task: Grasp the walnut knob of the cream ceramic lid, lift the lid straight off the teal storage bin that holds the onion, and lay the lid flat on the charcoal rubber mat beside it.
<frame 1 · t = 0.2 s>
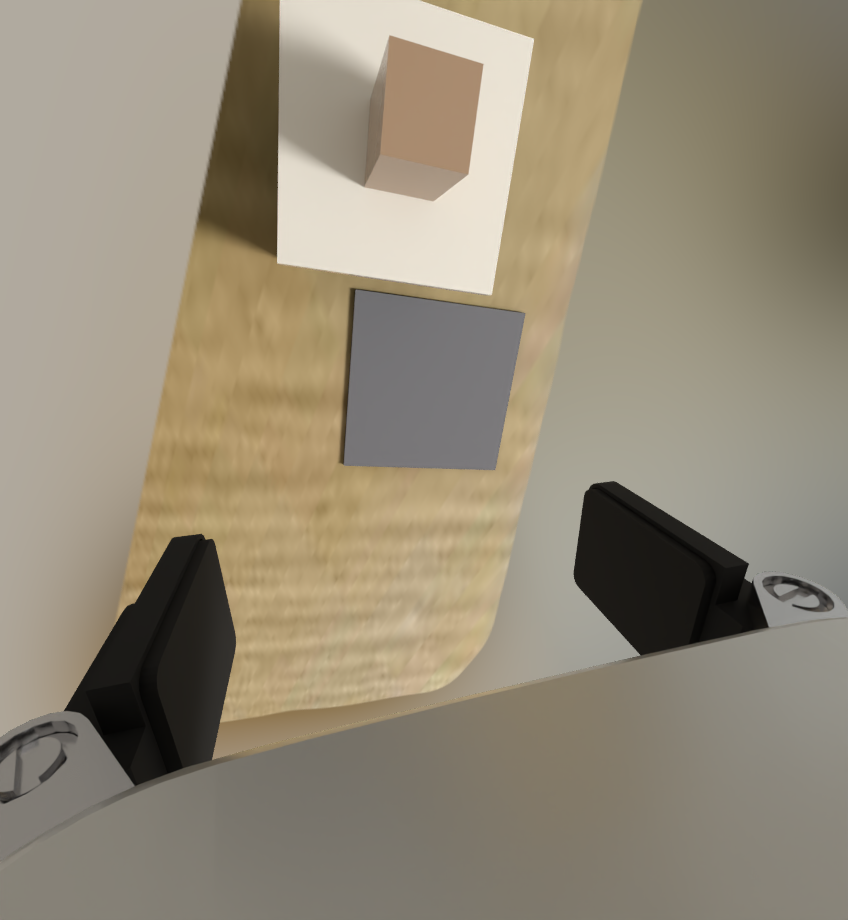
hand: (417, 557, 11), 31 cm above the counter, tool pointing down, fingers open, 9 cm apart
lid: (399, 159, 24), point 11 cm above the counter, touching teal storage bin
mat: (432, 389, 41), on the counter
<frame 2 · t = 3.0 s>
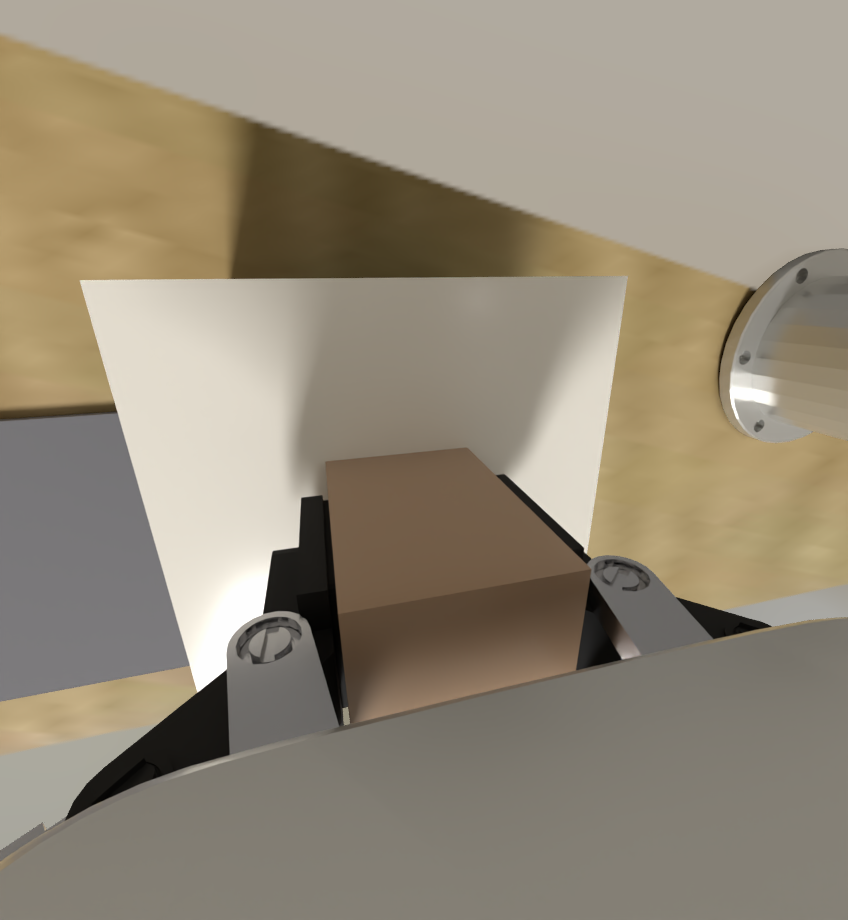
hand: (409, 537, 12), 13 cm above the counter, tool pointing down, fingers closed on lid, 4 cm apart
lid: (394, 499, 14), point 11 cm above the counter, touching teal storage bin, gripper
mat: (87, 561, 23), on the counter
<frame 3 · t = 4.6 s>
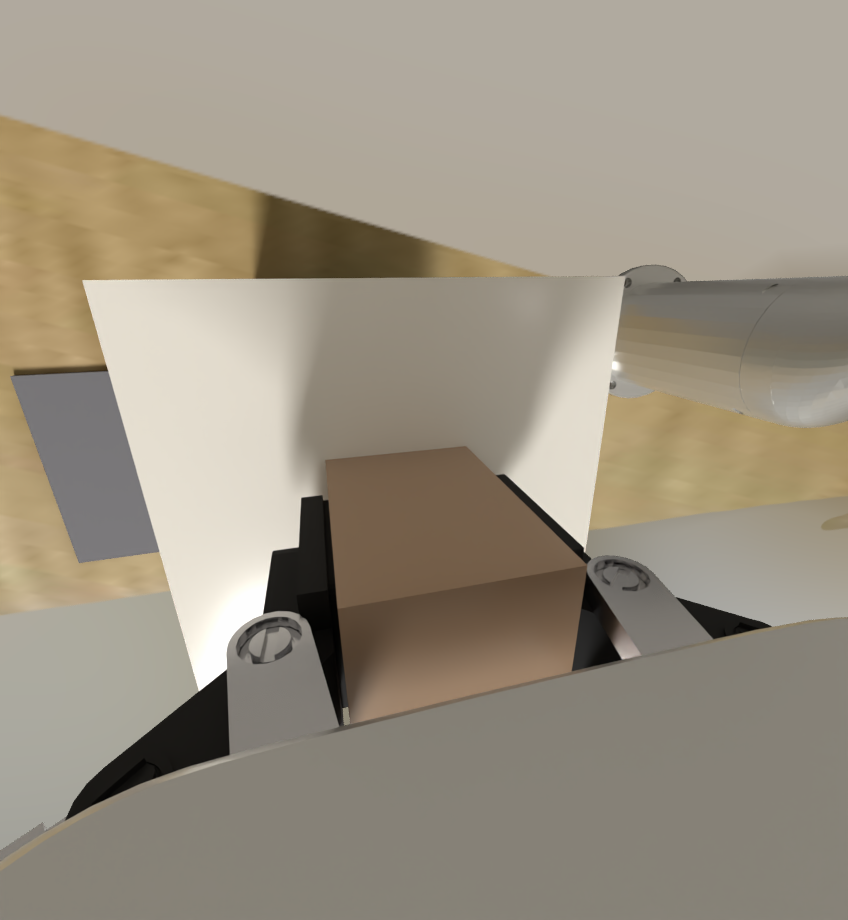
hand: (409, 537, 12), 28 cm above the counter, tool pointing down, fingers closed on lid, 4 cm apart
lid: (393, 498, 14), point 26 cm above the counter, touching gripper
mat: (161, 465, 36), on the counter
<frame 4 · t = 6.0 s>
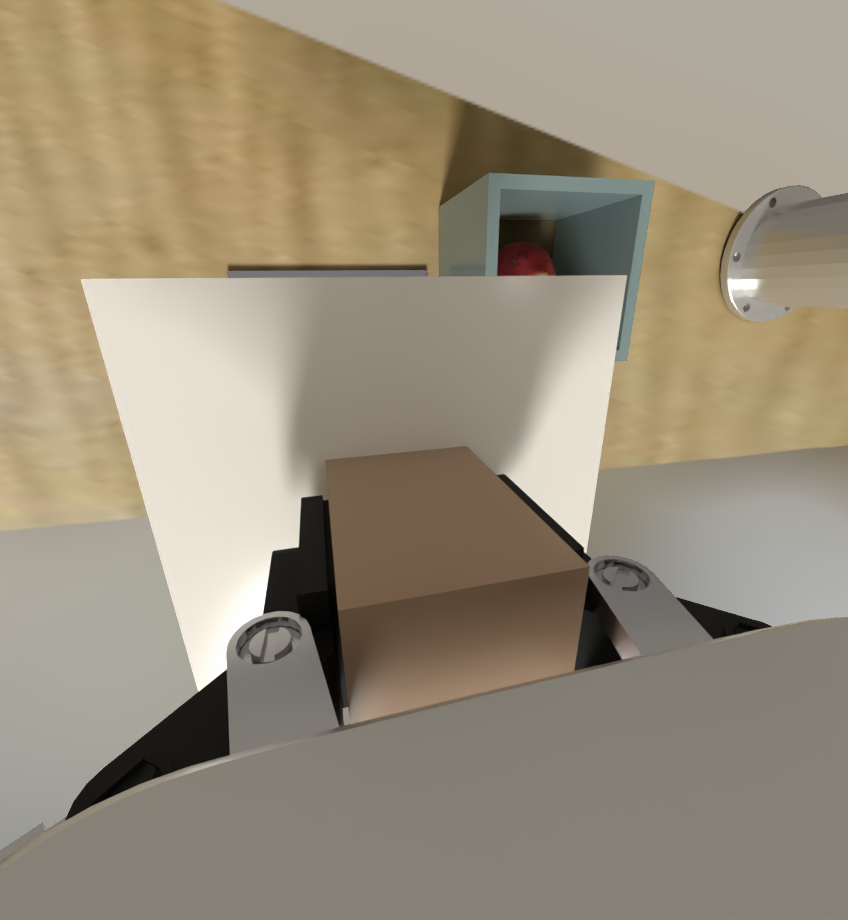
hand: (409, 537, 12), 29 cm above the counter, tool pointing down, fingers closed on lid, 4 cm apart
lid: (393, 498, 14), point 27 cm above the counter, touching gripper
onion: (499, 282, 39), resting in teal storage bin
teal storage bin: (500, 281, 39), on the counter
mat: (340, 368, 38), on the counter
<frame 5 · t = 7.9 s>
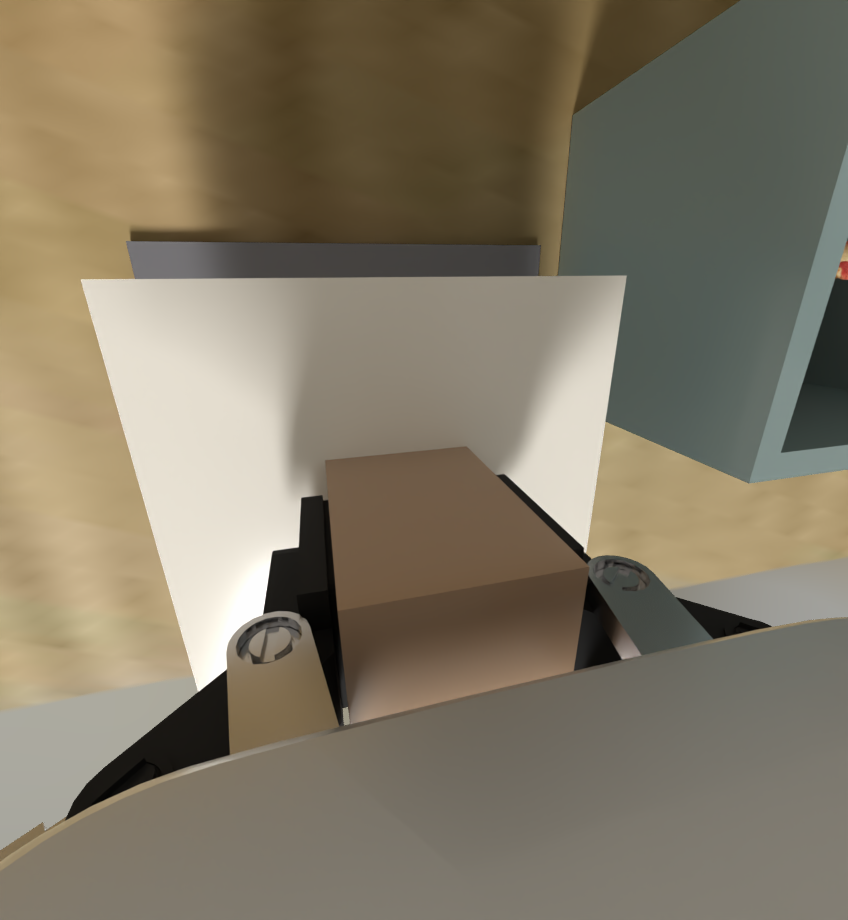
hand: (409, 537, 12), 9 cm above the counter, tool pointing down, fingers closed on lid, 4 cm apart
lid: (393, 498, 14), point 7 cm above the counter, touching gripper
teal storage bin: (666, 270, 21), on the counter
mat: (366, 434, 20), on the counter
when the fingers open (5 cm above the counter, at t = 9.3 s): lid stays where it is, resting on mat.
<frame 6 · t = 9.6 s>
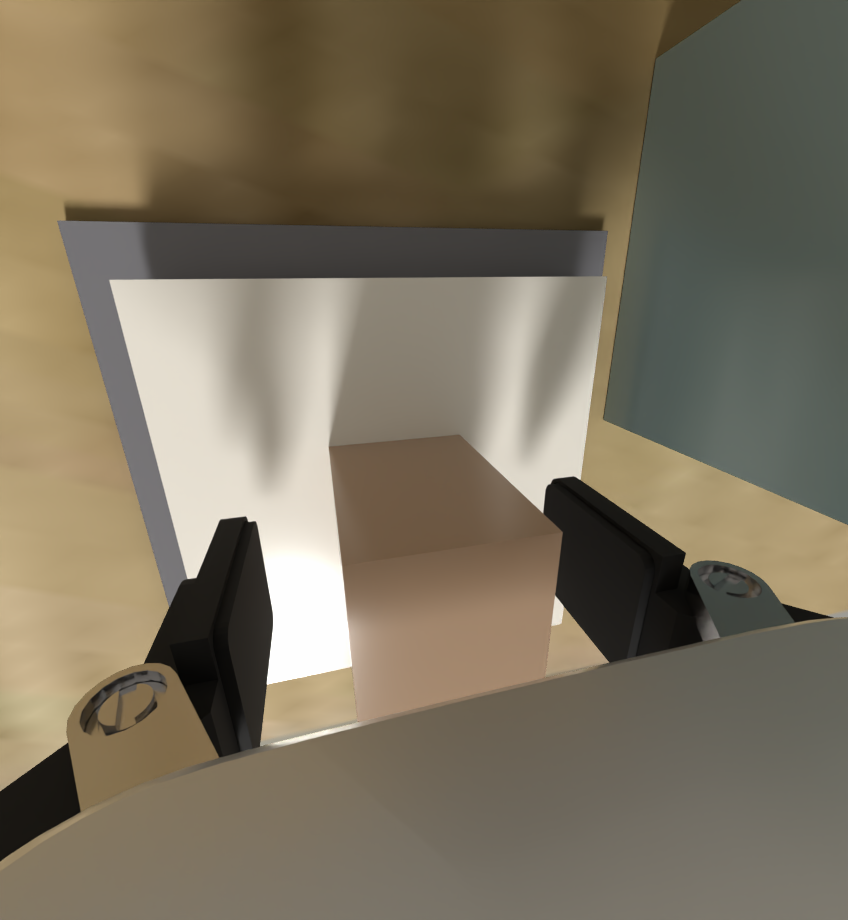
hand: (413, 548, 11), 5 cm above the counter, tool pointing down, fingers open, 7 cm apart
lid: (392, 484, 15), point 1 cm above the counter, touching mat
teal storage bin: (755, 264, 17), on the counter
mat: (382, 470, 16), on the counter
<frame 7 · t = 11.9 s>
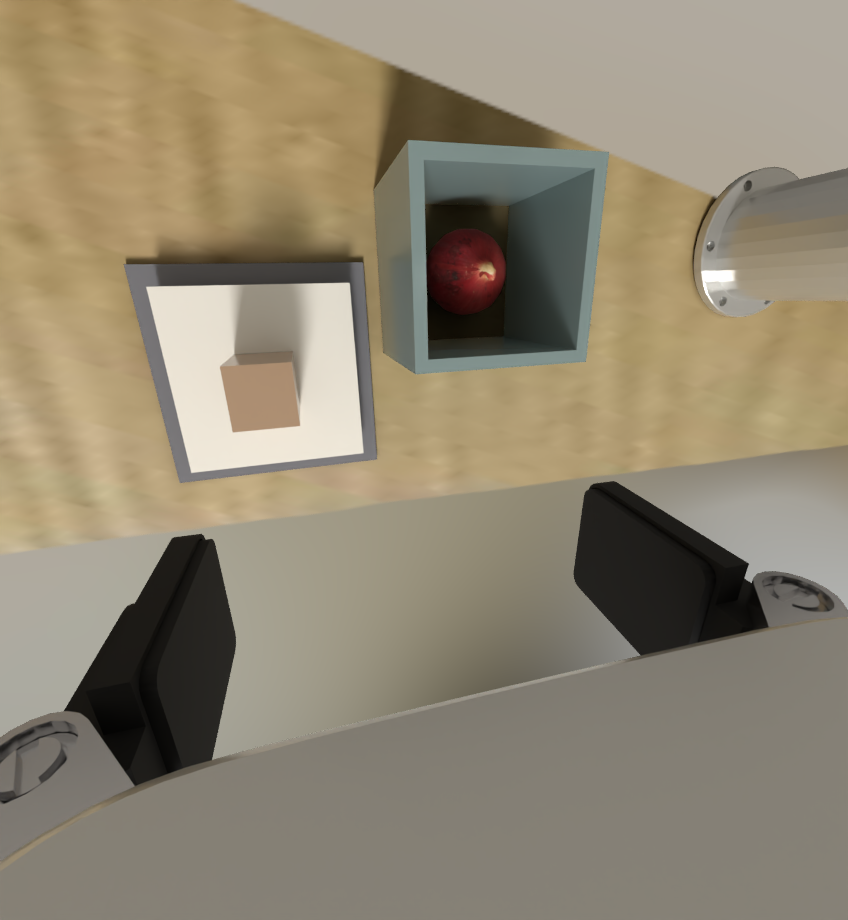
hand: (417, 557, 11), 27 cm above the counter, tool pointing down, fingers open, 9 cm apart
lid: (269, 377, 32), point 1 cm above the counter, touching mat
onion: (448, 275, 35), resting in teal storage bin
teal storage bin: (449, 275, 35), on the counter
mat: (268, 375, 34), on the counter
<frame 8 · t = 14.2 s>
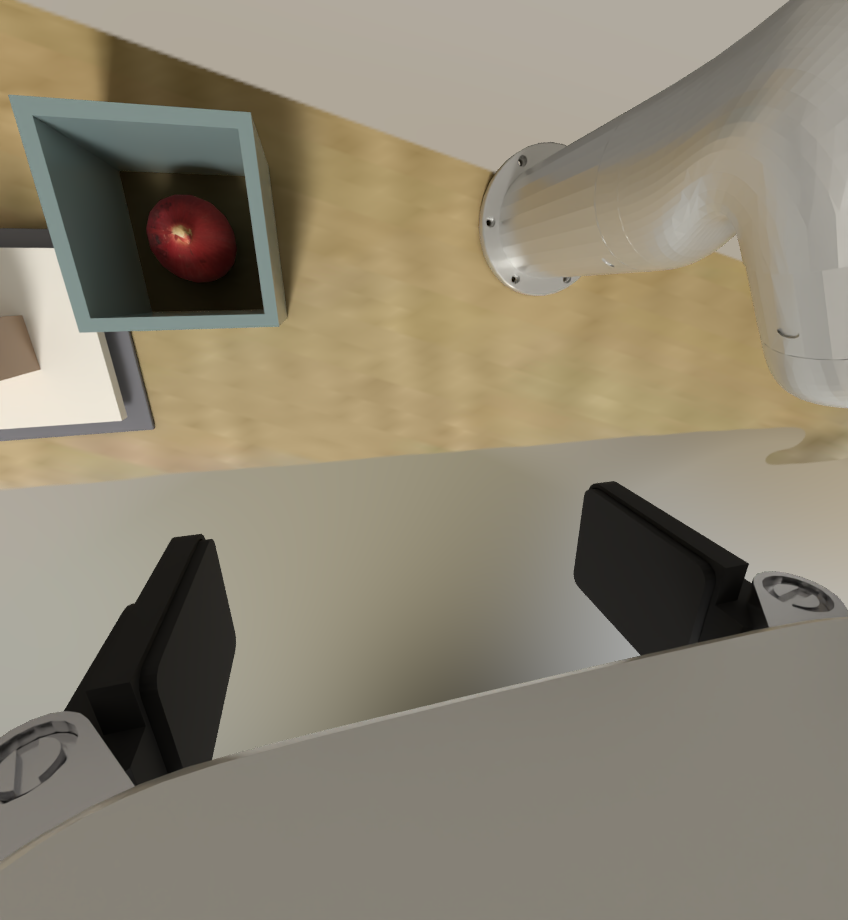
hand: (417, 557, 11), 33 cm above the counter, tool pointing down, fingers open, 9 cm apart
lid: (10, 342, 33), point 1 cm above the counter, touching mat
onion: (205, 245, 35), resting in teal storage bin
teal storage bin: (204, 245, 35), on the counter
mat: (20, 341, 34), on the counter
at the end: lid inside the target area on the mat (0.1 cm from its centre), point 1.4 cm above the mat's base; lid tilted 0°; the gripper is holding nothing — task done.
